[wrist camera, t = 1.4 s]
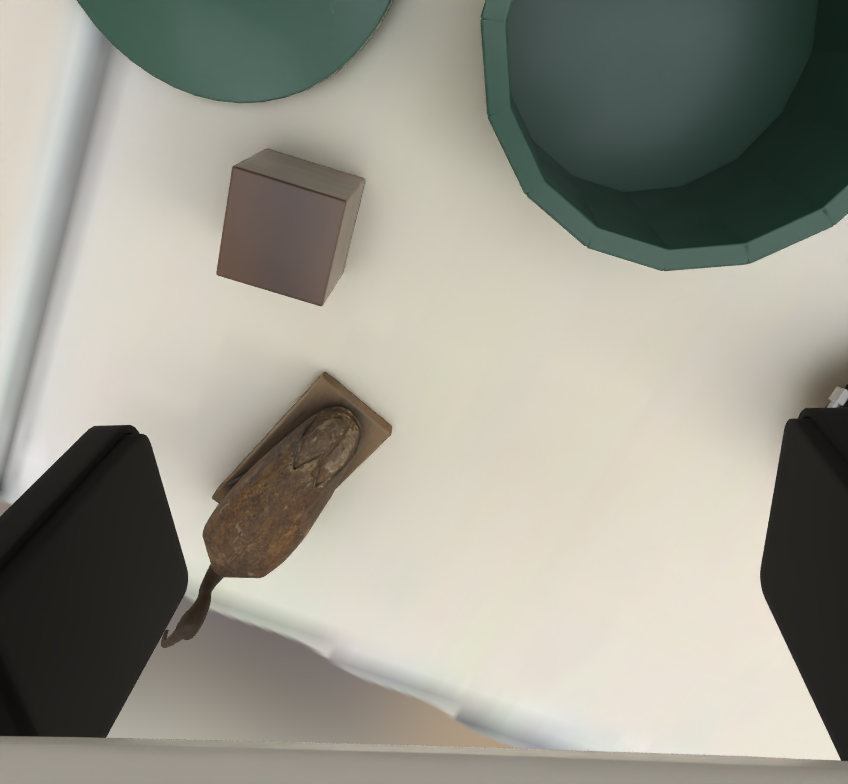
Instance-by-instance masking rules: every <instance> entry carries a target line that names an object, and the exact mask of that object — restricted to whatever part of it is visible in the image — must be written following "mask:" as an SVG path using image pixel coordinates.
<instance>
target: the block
mask: <svg viewBox="0 0 848 784" xmlns="http://www.w3.org/2000/svg"><path fill="white" fill-rule="evenodd" d="M364 184H365V179H364V178H360V177H357V176H354V175H351V174H348V173H344V172H341V171H338V170H335V169H331V168H328V167H325V166H322V165H318V164H315V163H312V162H309V161H306V160H302V159H299V158H296V157H293V156H289V155H286V154H283V153H280V152H276V151H273V150H270V149H265V150H263V151H261V152H259V153H257V154H255V155H253V156H252V157H250V158H248V159H246V160H244V161H242V162H240V163H238V164H236V165H235V166H233V167H232V173H231V180H230V186H229V193H228V199H227V206H226V213H225V219H224V226H223V232H222V239H221V246H220V252H219V259H218V265H217V272H216V273H217V275H218V276H222V277H225V278H228V279H232V280H235V281H238V282H242V283H245V284H248V285H252V286H255V287H258V288H262V289H265V290H268V291H272V292H275V293H278V294H282V295H285V296H288V297H292V298H295V299H298V300H302V301H305V302H308V303H312V304H315V305H318V306H323V304H324V303H325V301H326V300H327V298H328V296H329V295H330V293H331V292H332V290H333V288H334V287H335V285H336V283H337V282H338V280H339V279H340V277H341V275H342V274H343V272H344V268H345V263H346V259H347V255H348V251H349V247H350V243H351V238H352V234H353V230H354V226H355V222H356V217H357V213H358V209H359V205H360V201H361V197H362V192H363V188H364Z"/></svg>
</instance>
